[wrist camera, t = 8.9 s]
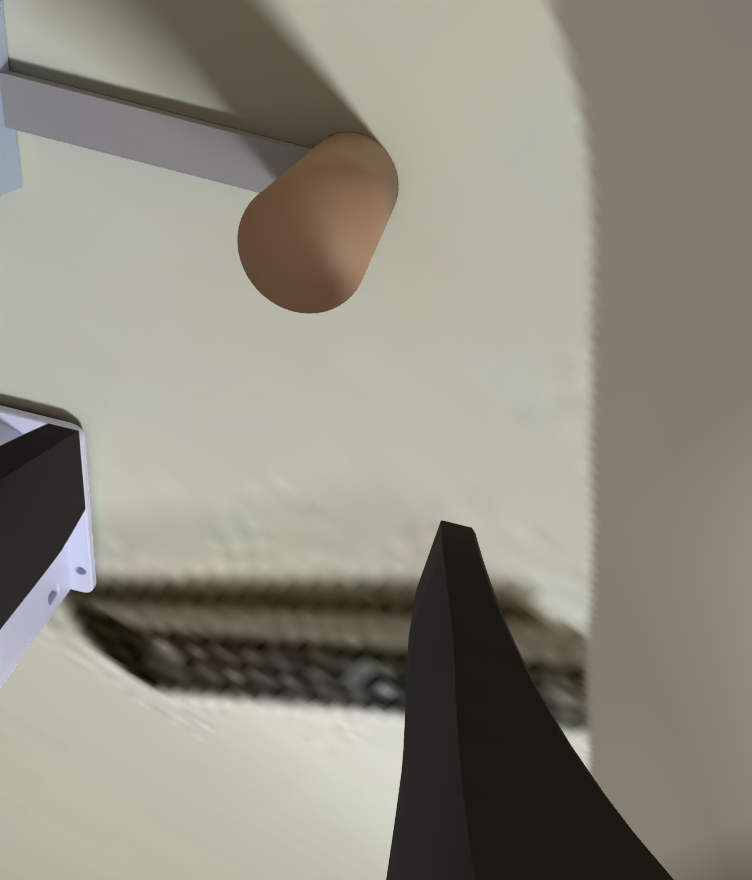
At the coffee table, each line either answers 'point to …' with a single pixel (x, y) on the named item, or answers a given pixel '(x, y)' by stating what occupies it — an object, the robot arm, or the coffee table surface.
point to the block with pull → (230, 181)
